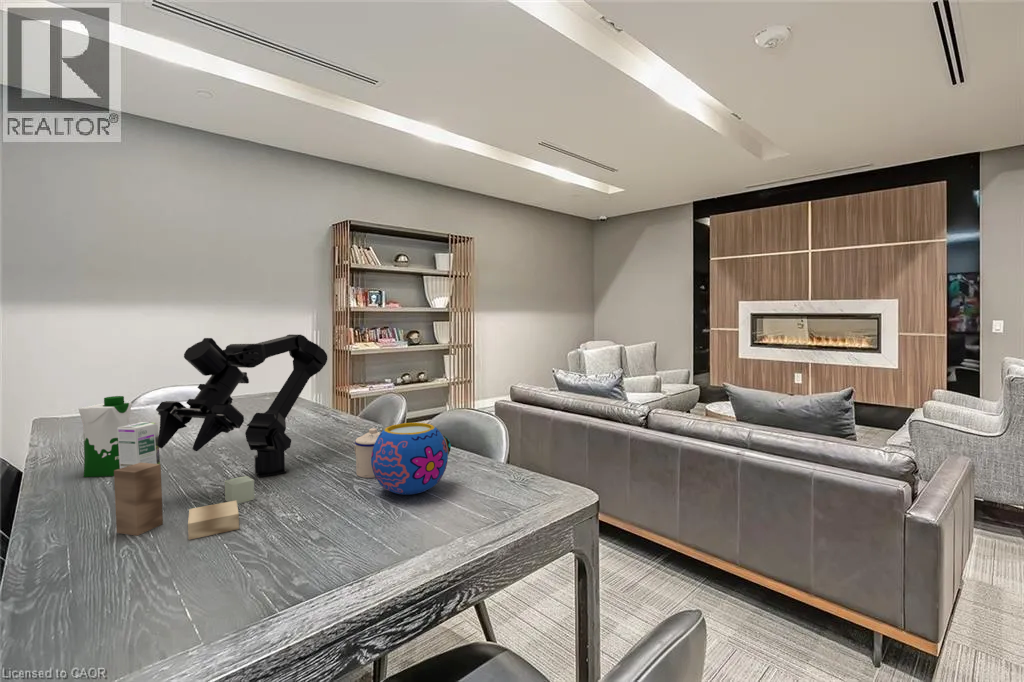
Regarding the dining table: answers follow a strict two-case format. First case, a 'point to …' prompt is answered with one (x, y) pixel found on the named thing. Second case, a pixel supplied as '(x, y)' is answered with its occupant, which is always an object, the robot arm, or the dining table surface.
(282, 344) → the robot arm
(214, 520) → the oak slab
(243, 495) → the sage cube
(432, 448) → the ceramic pot
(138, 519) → the walnut block
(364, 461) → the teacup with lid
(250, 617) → the dining table surface
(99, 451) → the milk carton
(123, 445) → the syrup box
